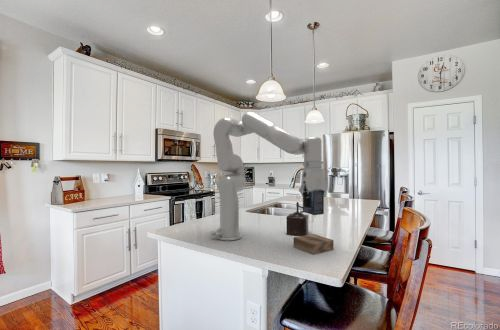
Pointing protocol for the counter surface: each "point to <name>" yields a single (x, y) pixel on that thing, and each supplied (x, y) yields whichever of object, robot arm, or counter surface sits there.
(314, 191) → the box
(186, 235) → the counter surface
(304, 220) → the antique coffee grinder
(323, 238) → the base
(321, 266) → the counter surface
